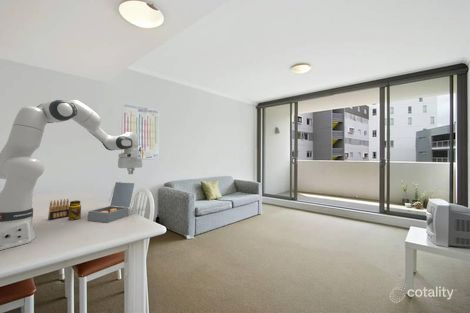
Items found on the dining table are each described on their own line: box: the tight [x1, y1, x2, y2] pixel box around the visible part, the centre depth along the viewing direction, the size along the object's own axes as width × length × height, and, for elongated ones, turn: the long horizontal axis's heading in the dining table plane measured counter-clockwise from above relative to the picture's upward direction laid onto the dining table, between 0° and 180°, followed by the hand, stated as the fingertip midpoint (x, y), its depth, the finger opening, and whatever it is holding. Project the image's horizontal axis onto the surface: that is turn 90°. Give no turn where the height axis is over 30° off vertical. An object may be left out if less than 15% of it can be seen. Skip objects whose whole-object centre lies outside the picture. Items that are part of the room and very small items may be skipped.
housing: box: [87, 205, 129, 224], centre depth 136 cm, size 16×15×6 cm
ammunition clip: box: [47, 198, 70, 221], centre depth 137 cm, size 11×2×12 cm, turn 151°
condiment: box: [67, 200, 82, 221], centre depth 133 cm, size 7×8×12 cm
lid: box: [109, 181, 135, 208], centre depth 147 cm, size 16×15×2 cm
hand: (130, 174), depth 154 cm, fingers closed
